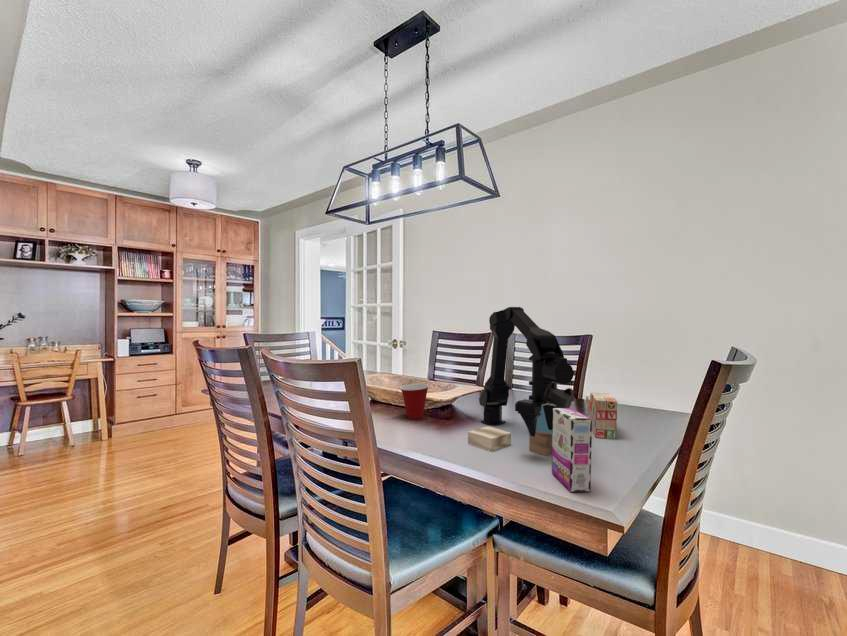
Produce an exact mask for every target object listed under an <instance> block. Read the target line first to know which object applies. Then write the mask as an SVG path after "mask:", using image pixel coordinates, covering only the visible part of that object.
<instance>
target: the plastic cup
mask: <svg viewBox="0 0 847 636" xmlns="http://www.w3.org/2000/svg"><path fill="white" fill-rule="evenodd" d="M429 386H430V385H429V384H427V383H410V384H405V385H401V386H400V387H399V388H400V390H401V394H402V398H403V403H404V408H405V412H406V418H407V419H409V420H420V419H422V418H423V417H424V414H425V413H424V412H425V407H426V401H427V394H428V389H429Z"/></svg>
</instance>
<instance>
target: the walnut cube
mask: <svg viewBox="0 0 847 636" xmlns="http://www.w3.org/2000/svg"><path fill="white" fill-rule="evenodd" d="M552 438H553V434H550V433H546V432H542V431H537V432H536V433H535V436H534V437H533V436H531V435H530V433H529V438H528V439H529V440H528V441H529V452H530V451H531V452H530V453H533V452H534V454H537V453H538V454H537V455H540V456H543V455H544V456H543V457H545V456H548V455H550V453H551V454H552V441H553V440H552Z"/></svg>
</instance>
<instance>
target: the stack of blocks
mask: <svg viewBox="0 0 847 636" xmlns="http://www.w3.org/2000/svg"><path fill="white" fill-rule="evenodd" d="M585 401H586V402H585V404H586V416H587V417H589V418H591V419H592V435H593V436H594V438H595V439H606V440H607V439H608V440H617V434H618V433H617V426H618V425H617V420H618V401H617V399H616V397H614V395H612V394H611V393H610V392H594V391H593V392H591V391H590V395H586V398H585Z"/></svg>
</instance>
